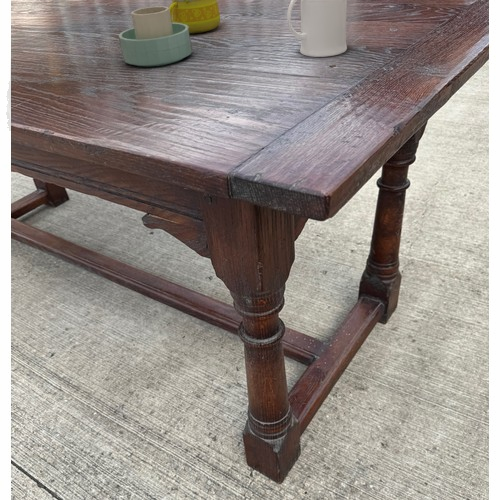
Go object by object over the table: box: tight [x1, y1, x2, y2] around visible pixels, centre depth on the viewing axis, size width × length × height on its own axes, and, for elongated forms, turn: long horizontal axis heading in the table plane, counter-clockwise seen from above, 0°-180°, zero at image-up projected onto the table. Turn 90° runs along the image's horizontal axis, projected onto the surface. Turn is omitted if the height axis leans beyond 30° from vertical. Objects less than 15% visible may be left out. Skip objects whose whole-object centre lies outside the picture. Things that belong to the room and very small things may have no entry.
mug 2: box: [286, 0, 348, 58], centre depth 90 cm, size 12×8×12 cm
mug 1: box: [169, 0, 221, 34], centre depth 112 cm, size 13×11×12 cm
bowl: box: [117, 23, 193, 68], centre depth 98 cm, size 13×13×5 cm
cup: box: [130, 5, 173, 40], centre depth 96 cm, size 7×7×8 cm
